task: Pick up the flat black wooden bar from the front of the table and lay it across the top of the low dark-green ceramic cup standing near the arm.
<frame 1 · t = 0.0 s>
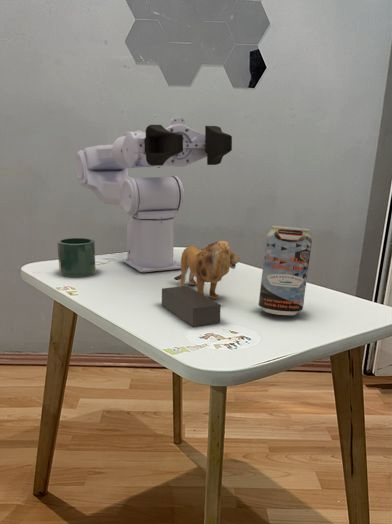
hand: (205, 143, 78), 22 cm above the table, tool horizontal, fingers open, 7 cm apart
lion figurine: (202, 295, 86), on the table
cup: (77, 273, 97), on the table
beverage can: (281, 314, 79), on the table
black bar: (189, 313, 77), on the table
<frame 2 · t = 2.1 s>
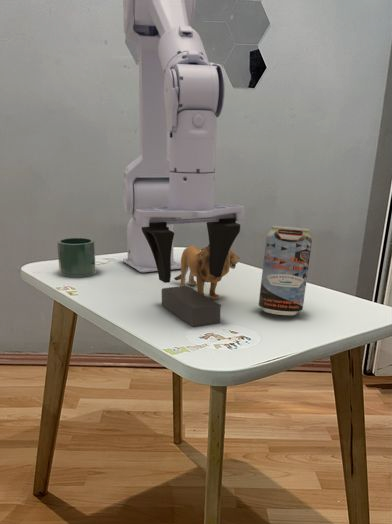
hand: (190, 278, 75), 5 cm above the table, tool pointing down, fingers open, 7 cm apart
lion figurine: (202, 295, 86), on the table, touching gripper
everything else where it was.
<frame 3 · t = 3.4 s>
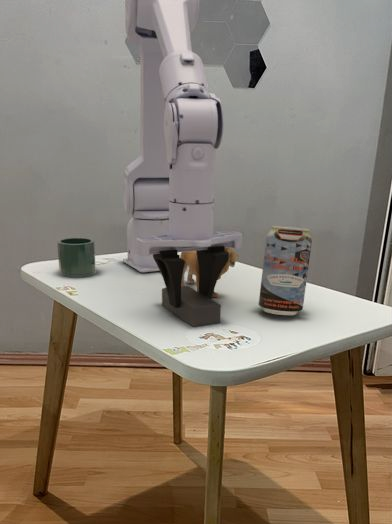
hand: (189, 303, 77), 1 cm above the table, tool pointing down, fingers closed on black bar, 4 cm apart
lion figurine: (201, 293, 87), on the table
black bar: (189, 313, 77), on the table, touching gripper
everything else where it was.
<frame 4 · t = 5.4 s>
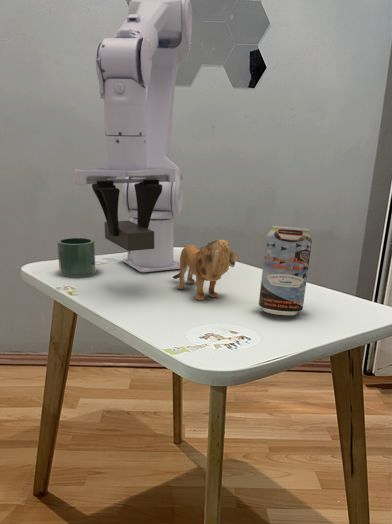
hand: (128, 234, 83), 9 cm above the table, tool pointing down, fingers closed on black bar, 4 cm apart
black bar: (128, 243, 84), point 7 cm above the table, touching gripper
everything else where it was.
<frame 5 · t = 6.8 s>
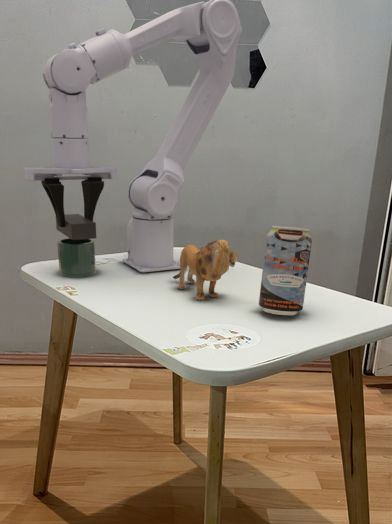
hand: (75, 225, 94), 8 cm above the table, tool pointing down, fingers closed on black bar, 4 cm apart
black bar: (75, 233, 94), point 7 cm above the table, touching gripper
everything else where it was.
when the fingers open (7 cm above the table, at t = 7.7 s): black bar stays where it is, resting on cup.
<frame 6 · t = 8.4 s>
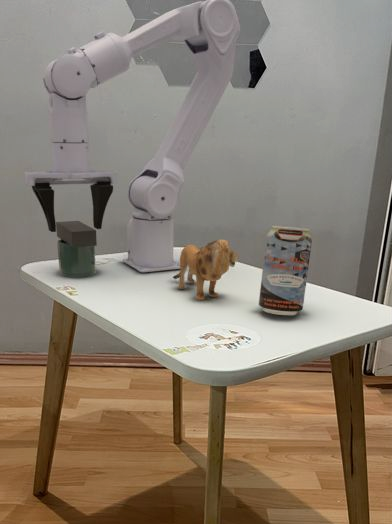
hand: (75, 229, 94), 7 cm above the table, tool pointing down, fingers open, 7 cm apart
black bar: (76, 240, 95), point 5 cm above the table, touching cup
everything else where it was.
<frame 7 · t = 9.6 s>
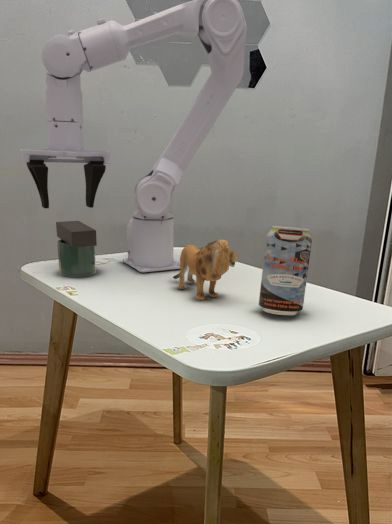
hand: (68, 207, 97), 10 cm above the table, tool pointing down, fingers open, 7 cm apart
nothing on the table moved.
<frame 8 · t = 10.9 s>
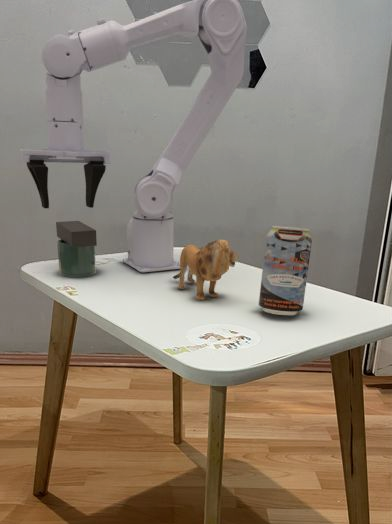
hand: (68, 207, 97), 10 cm above the table, tool pointing down, fingers open, 7 cm apart
nothing on the table moved.
at the end: black bar 0.0 cm off-centre on the cup, point 5.5 cm above the cup's base; black bar touching cup; black bar tilted 0° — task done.
